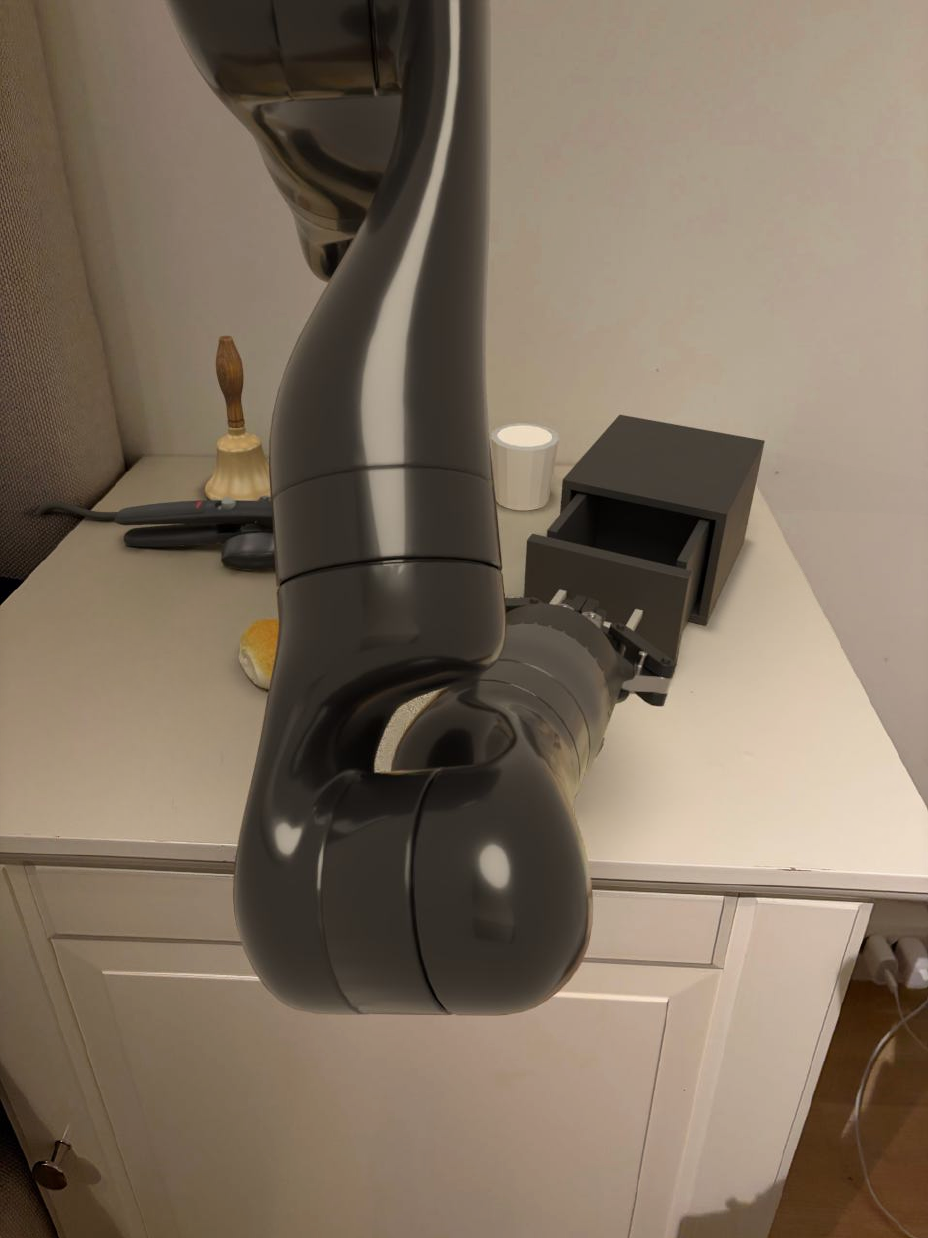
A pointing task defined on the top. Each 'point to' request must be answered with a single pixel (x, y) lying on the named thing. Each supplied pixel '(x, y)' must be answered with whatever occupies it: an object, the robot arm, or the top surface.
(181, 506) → the can opener
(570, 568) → the cabinet drawer
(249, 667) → the bread roll
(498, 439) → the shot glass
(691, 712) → the top surface
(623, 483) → the single drawer cabinet
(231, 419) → the hand bell
